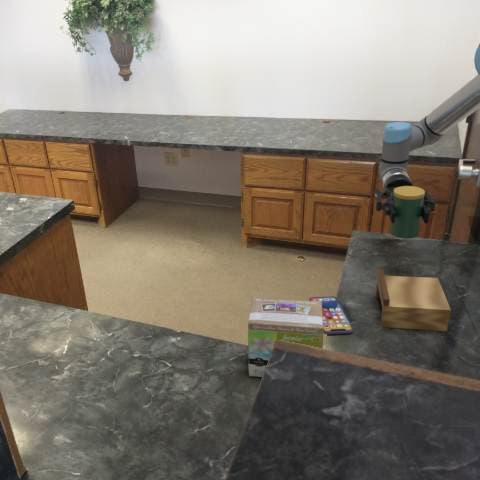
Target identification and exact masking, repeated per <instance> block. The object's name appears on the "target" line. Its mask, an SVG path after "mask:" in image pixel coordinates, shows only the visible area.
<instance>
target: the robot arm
mask: <svg viewBox="0 0 480 480" xmlns="http://www.w3.org/2000/svg"><path fill="white" fill-rule="evenodd" d="M473 63H474V68H475V71H476V72H477V75H475V76H474V77H473V78H472V79H471V80H469V81H467V83H465V84H464V85H463V86H461V87H460V88H459V89H458V90H456V91H455V92H454V93H453V94H452V95H450V96H449V97H448V98H447V99H445V100H444V101H443V102H442V103H441V104H439V105H438V106H437V107H435V108H434V109H433V110H431V111H430V112H429V113H428V114H427V115H425V117H423V118H421V119H420V120H419V121H418V122H416V123H413V124H411V123H409V122H405V121H395V122H389V123H387V124H386V125H385V126H384V129H383V135H382V144H381V145H382V146H381V157H380V158H381V159H380V165H379V166H378V177H379V179H380V182H381V185H382V188H383V190H380V189H375V190H374V198H373V199H374V200H375V201H376V202H375V203H376V205H375V211H376V212H380V211H383V212H382V214H383V215H385V216H389V219H390V224H391V223H395V214H396V213H395V210H394V207H393V198H394V189H395V188H397V187H401V186H414V185H413V182H412V180H411V178H410V176H409V174H408V166H409V158H410V152H413V151H414V150H418V149H421V148H424V147H426V146H431V145H433V144H435V143H437V142H440V140H441V139H442V138H443V137H444V135H445V134H446V133H447V132H449V131H450V130H452V128H454V127H456V126H457V125H458V124H459V123H461V122H462V121H464V120H465V119H467V118H468V117H469V116H470V115H472V114H473V113H475V112H476V111H478V110H479V109H480V43H479V44H478V46H477V47H476V49H475V51H474V59H473ZM423 190H424V191H425V195H424V199H423V207H422V214H421V220H423V224H429V217H430V216H431V213H432V212H435V210H436V203H437V202H436V201H435V199H434V198H433V196H431V195H430V194H429V192H428V189H425V188H424V189H423ZM384 197H385V198H386V200H385V201H384V202H382V200H383V198H384Z"/></svg>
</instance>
